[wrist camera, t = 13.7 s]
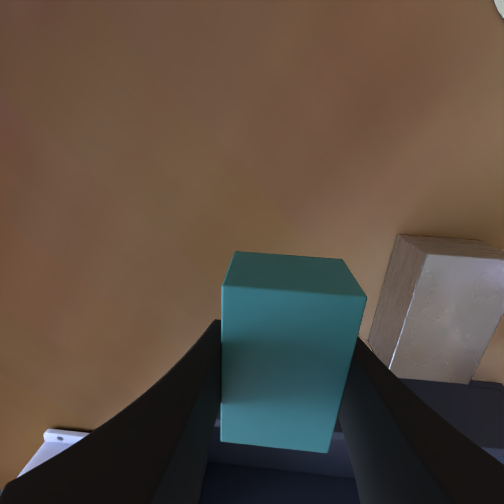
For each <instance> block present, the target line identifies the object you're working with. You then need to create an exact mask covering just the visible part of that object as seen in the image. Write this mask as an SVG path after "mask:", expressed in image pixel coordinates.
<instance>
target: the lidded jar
mask: <svg viewBox="0 0 504 504" xmlns="http://www.w3.org/2000/svg"><path fill="white" fill-rule="evenodd" d="M494 2H495V5H496V7H497V10H498V11H499V13H500V14H501V16H502V17H503V18H504V0H494Z"/></svg>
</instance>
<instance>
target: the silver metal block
mask: <svg viewBox="0 0 504 504" xmlns="http://www.w3.org/2000/svg"><path fill="white" fill-rule="evenodd" d="M503 313H504V251H503V250H501V249H499V248H496V247H494V246H491V245H489V244H487V243H484V242H482V241H480V240H469V239H454V238H440V237H426V236H412V235H397V236H396V240H395V244H394V247H393V251H392V255H391V258H390V262H389V266H388V269H387V273H386V276H385V280H384V284H383V287H382V291H381V295H380V298H379V302H378V306H377V309H376V313H375V317H374V320H373V324H372V328H371V331H370V335H369V339H368V342H369V344H370V346H371V348H372V350H373V352H374V353H375V355H376V356H377V357H378V358H379V359H380V360H381V361H382V362H383V363H384V364H385V365H386V366H387V367H388V368H389V369H390V370H391V371H392V372H393V373H394V374H395V375H396V376H397V377H398V378H405V379H416V380H426V381H436V382H447V383H457V384H469V382H470V380H471V378H472V376H473V374H474V372H475V370H476V368H477V366H478V364H479V362H480V360H481V358H482V356H483V354H484V352H485V350H486V348H487V346H488V344H489V342H490V340H491V338H492V336H493V334H494V332H495V330H496V327H497V325H498V323H499V321H500V319H501V317H502V315H503Z"/></svg>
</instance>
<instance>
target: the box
mask: <svg viewBox="0 0 504 504" xmlns="http://www.w3.org/2000/svg"><path fill="white" fill-rule="evenodd" d="M399 379H400V380H401V381H402V382H403V383H404V384H405V385H406V386H407V387H408V388H409V389H410V390H411V391H413V392H414V393H415V394H416V395H417V396H418V397H419V398H420V399H421V400H422V401H424V402H425V403H426V404H427V405H428V406H429V407H430V408H432V409H433V410H434V411H435V412H436V413H438V414H439V415H440V416H441V417H442V418H444V419H445V420H446V421H447V422H449V423H450V424H451V425H452V426H453V427H455V428H456V429H457V430H458V431H460V432H461V433H462V434H464V435H465V436H466V437H467V438H469V439H470V440H471V441H473V442H474V443H475V444H477V445H478V446H479V447H481V448H482V449H484V450H485V451H486V452H488V453H489V454H490V455H492V456H493V457H494V458H496V459H497V460H498V461H500V462H501V463H503V464H504V386H503V385H502V384H501V383H490V382H479V381H470V382H469V384H457V383H447V382H436V381H426V380H416V379H405V378H399ZM197 504H361V503H360V498H359V493H358V488H357V483H356V479H355V475H354V471H353V467H352V463H351V459H350V456H349V452H348V449H347V445H346V442H345V438H344V435H343V431H342V428H341V424H340V421H339V417H338V415H337V419H336V423H335V427H334V431H333V435H332V439H331V443H330V447H329V451H328V453H320V452H311V451H302V450H293V449H284V448H275V447H266V446H257V445H248V444H239V443H230V442H222V441H221V404H220V408H219V411H218V415H217V419H216V422H215V426H214V429H213V433H212V437H211V440H210V444H209V448H208V452H207V456H206V461H205V465H204V471H203V476H202V481H201V486H200V492H199V497H198V502H197Z"/></svg>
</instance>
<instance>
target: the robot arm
mask: <svg viewBox="0 0 504 504" xmlns="http://www.w3.org/2000/svg"><path fill="white" fill-rule="evenodd" d="M220 404H221V320H217V319H215V320H214V321H213V322H212V323H211V324H210V326H209V327H208V328H207V330H206V331H205V332H204V333H203V335H202V336H201V337H200V338H199V339H198V341H197V342H196V343H195V344H194V345H193V346H192V347H191V349H190V350H189V351H188V352H187V353H186V354H185V355H184V356H183V357H182V358H181V359H180V360H179V361H178V362H177V363H176V364H175V365H174V366H173V367H172V368H171V369H170V370H169V371H168V372H167V373H166V374H165V375H164V376H163V377H162V378H161V379H160V380H159V381H158V382H156V383H155V384H154V385H153V386H152V387H151V388H150V389H148V390H147V391H146V392H145V393H144V394H142V395H141V396H140V397H139V398H137V399H136V400H135V401H134V402H132V403H131V404H130V405H129V406H127V407H126V408H125V409H123V410H122V411H121V412H120V413H118V414H117V415H115V416H114V417H113V418H111V419H110V420H109V421H107V422H106V423H104V424H103V425H101V426H100V427H98V428H97V429H95V430H94V431H92V432H91V433H85V432H76V431H67V430H58V429H48V430H46V432H45V433H44V434H43V436H44V439H45V442H44V443H43V445H42V446H41V447H40V448H39V450H38V451H37V452H36V454H35V455H34V456H33V457H32V459H31V460H30V461H29V463H28V464H27V465H26V466H25V468H24V469H23V470H22V471H21V473H20V474H19V475H18V477H17V478H16V479H14V480H12V481H10V482H8V483H7V484H6V485H5V487H4V488H3V489H2V490H1V491H0V504H197V502H198V497H199V492H200V486H201V481H202V476H203V471H204V465H205V461H206V456H207V452H208V448H209V444H210V440H211V437H212V433H213V429H214V426H215V422H216V419H217V415H218V411H219V408H220ZM338 417H339V421H340V424H341V428H342V431H343V435H344V438H345V442H346V445H347V449H348V452H349V456H350V459H351V463H352V467H353V471H354V475H355V479H356V483H357V488H358V493H359V498H360V503H361V504H504V464H503V463H501V462H500V461H498V460H497V459H496V458H494V457H493V456H492V455H490V454H489V453H488V452H486V451H485V450H484V449H482V448H481V447H479V446H478V445H477V444H475V443H474V442H473V441H471V440H470V439H469V438H467V437H466V436H465V435H464V434H462V433H461V432H460V431H458V430H457V429H456V428H455V427H453V426H452V425H451V424H450V423H449V422H447V421H446V420H445V419H444V418H442V417H441V416H440V415H439V414H438V413H436V412H435V411H434V410H433V409H432V408H430V407H429V406H428V405H427V404H426V403H425V402H424V401H422V400H421V399H420V398H419V397H418V396H417V395H416V394H415V393H414V392H413V391H411V390H410V389H409V388H408V387H407V386H406V385H405V384H404V383H403V382H402V381H401V380H400V379H399V378H398V377H397V376H396V375H395V374H394V373H393V372H392V371H391V370H390V369H389V368H388V367H387V366H386V365H385V364H384V363H383V362H382V361H381V360H380V359H379V358H378V357H377V356H376V355H375V354H374V353H373V352H372V351H371V350H370V349H369V348H368V347H367V346H366V345H365V344H364V342H363V341H362V340H361V339H360V338H359V337H358V336H357V340H356V344H355V348H354V352H353V356H352V360H351V364H350V368H349V372H348V376H347V380H346V384H345V388H344V392H343V396H342V400H341V404H340V408H339V411H338Z"/></svg>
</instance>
